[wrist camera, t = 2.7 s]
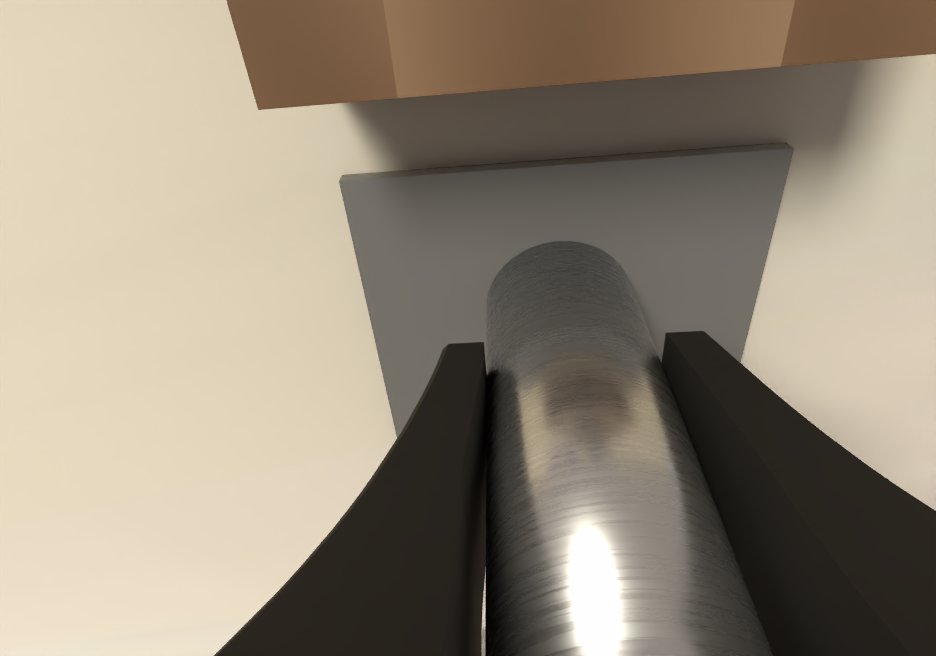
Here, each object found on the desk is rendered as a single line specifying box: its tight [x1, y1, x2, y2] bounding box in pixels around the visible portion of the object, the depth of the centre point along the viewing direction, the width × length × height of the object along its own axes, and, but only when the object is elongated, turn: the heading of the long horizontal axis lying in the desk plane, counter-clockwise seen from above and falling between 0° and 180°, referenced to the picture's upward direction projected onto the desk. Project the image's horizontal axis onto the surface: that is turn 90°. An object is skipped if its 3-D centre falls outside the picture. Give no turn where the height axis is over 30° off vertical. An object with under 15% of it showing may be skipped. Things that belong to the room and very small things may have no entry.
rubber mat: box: [339, 143, 794, 438], centre depth 13 cm, size 8×8×1 cm
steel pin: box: [486, 241, 774, 656], centre depth 9 cm, size 3×3×8 cm
